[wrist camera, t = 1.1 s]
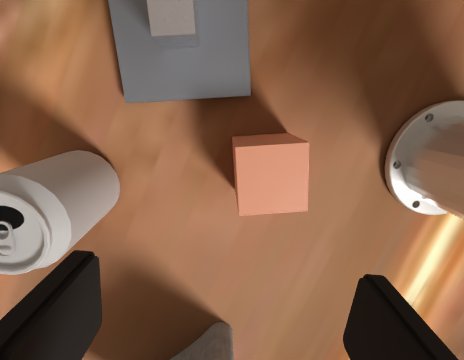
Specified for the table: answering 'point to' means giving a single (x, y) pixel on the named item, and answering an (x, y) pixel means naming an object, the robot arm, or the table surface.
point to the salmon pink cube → (270, 173)
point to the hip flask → (210, 345)
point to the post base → (182, 49)
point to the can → (52, 207)
